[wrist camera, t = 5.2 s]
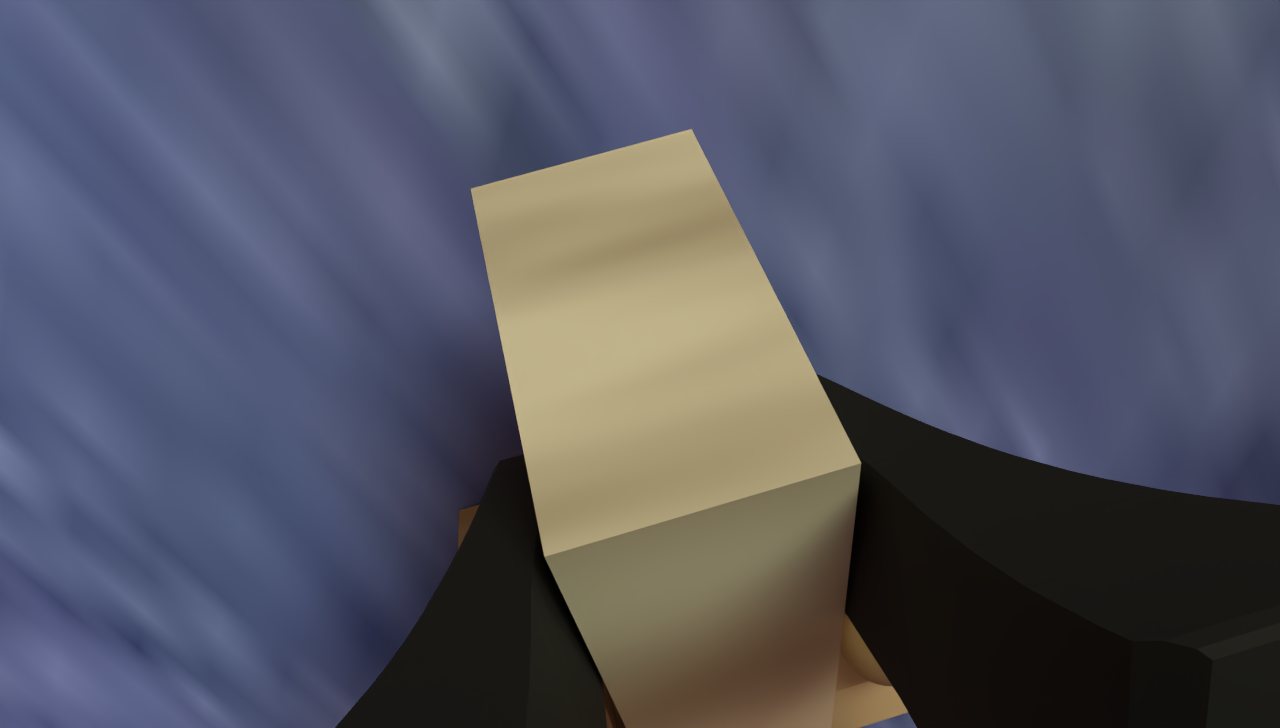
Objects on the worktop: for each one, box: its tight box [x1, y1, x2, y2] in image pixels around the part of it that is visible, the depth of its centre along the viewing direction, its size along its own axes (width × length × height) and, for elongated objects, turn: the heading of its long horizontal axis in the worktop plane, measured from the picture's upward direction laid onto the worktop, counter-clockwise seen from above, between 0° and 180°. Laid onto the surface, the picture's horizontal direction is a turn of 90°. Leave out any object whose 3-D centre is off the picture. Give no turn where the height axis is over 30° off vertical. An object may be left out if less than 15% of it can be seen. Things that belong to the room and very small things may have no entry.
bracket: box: [458, 504, 908, 728], centre depth 18 cm, size 9×4×7 cm, turn 103°
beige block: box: [471, 129, 861, 728], centre depth 13 cm, size 10×3×6 cm, turn 13°
